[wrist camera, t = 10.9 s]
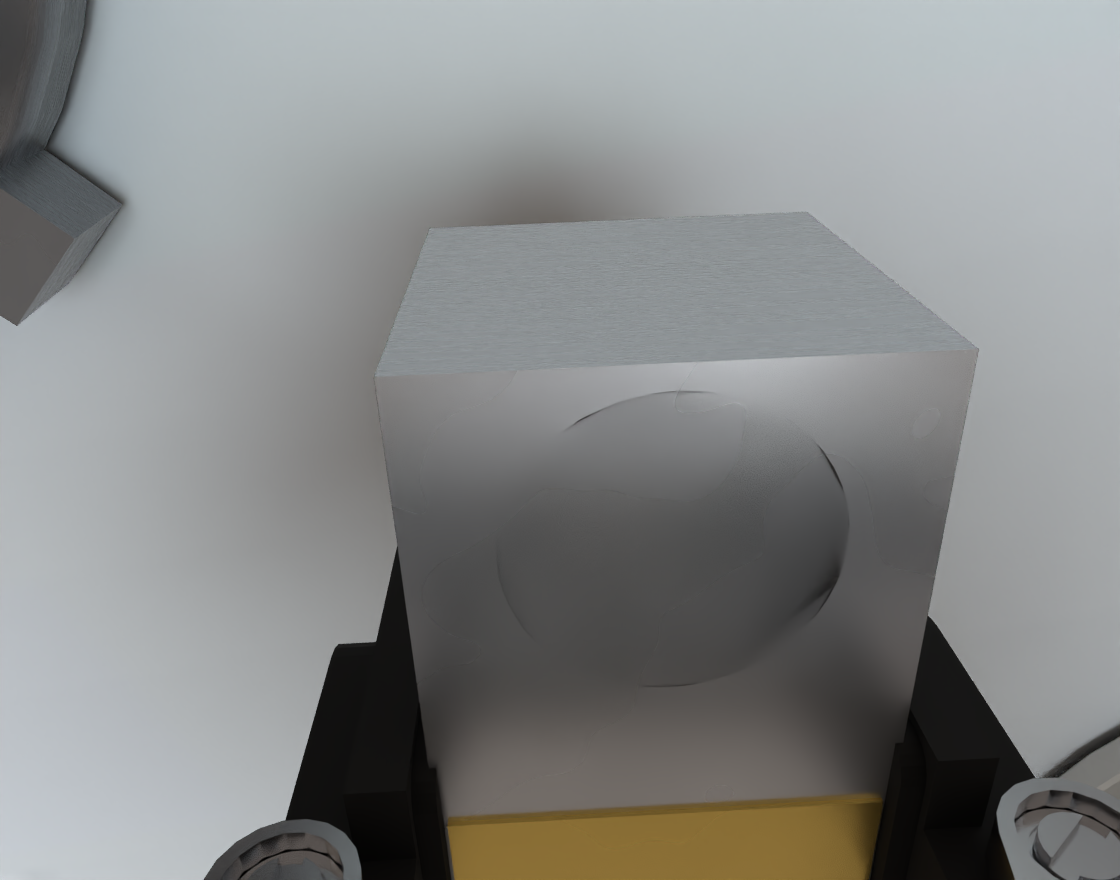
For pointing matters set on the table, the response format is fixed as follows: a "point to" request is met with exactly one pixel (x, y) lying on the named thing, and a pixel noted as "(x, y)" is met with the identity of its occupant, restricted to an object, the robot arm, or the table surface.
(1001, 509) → the table surface
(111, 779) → the table surface
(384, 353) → the dimpled metal block
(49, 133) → the sprocket
